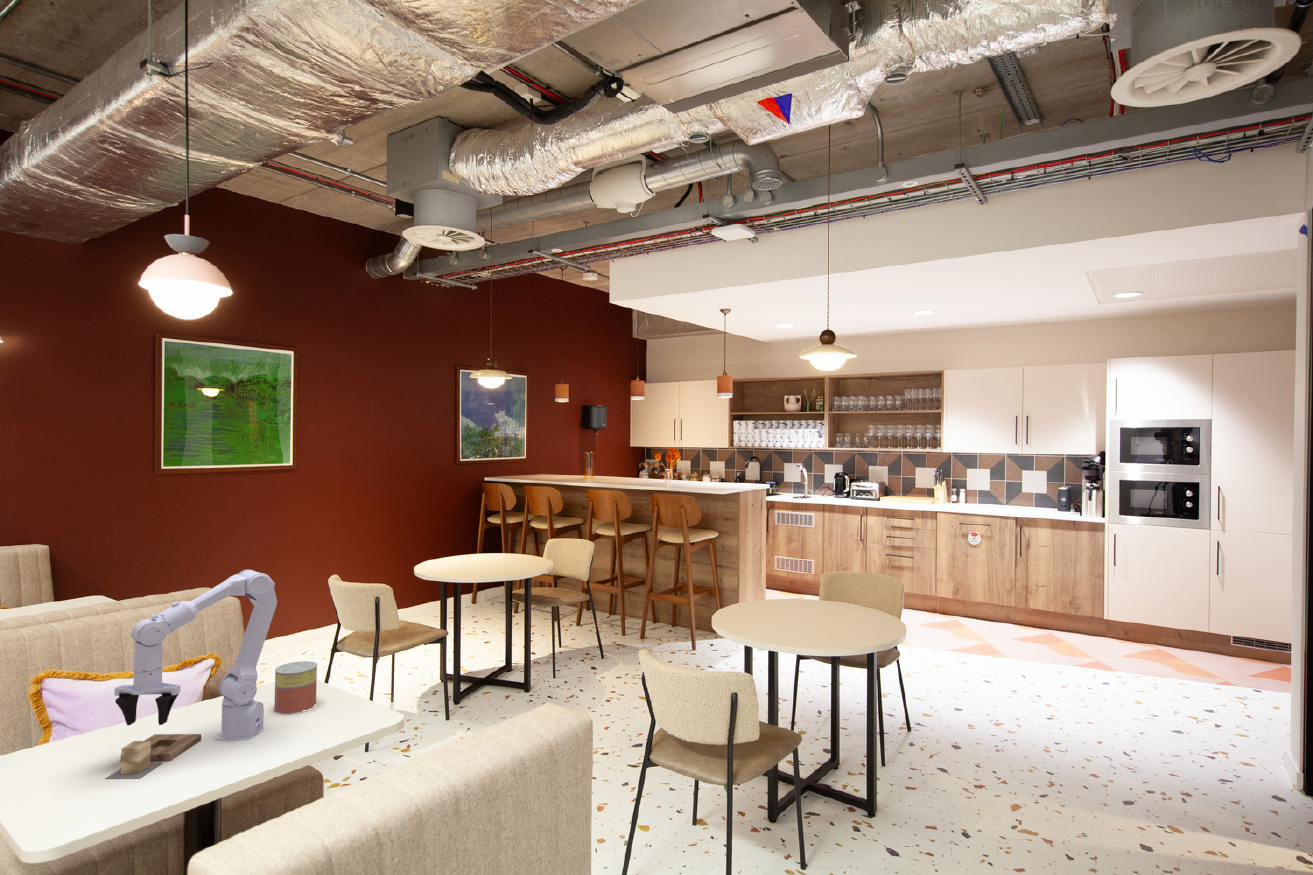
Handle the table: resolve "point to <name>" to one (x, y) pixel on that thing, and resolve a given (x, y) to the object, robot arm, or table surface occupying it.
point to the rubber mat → (134, 776)
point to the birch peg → (135, 757)
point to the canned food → (295, 687)
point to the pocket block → (171, 745)
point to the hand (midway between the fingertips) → (147, 723)
